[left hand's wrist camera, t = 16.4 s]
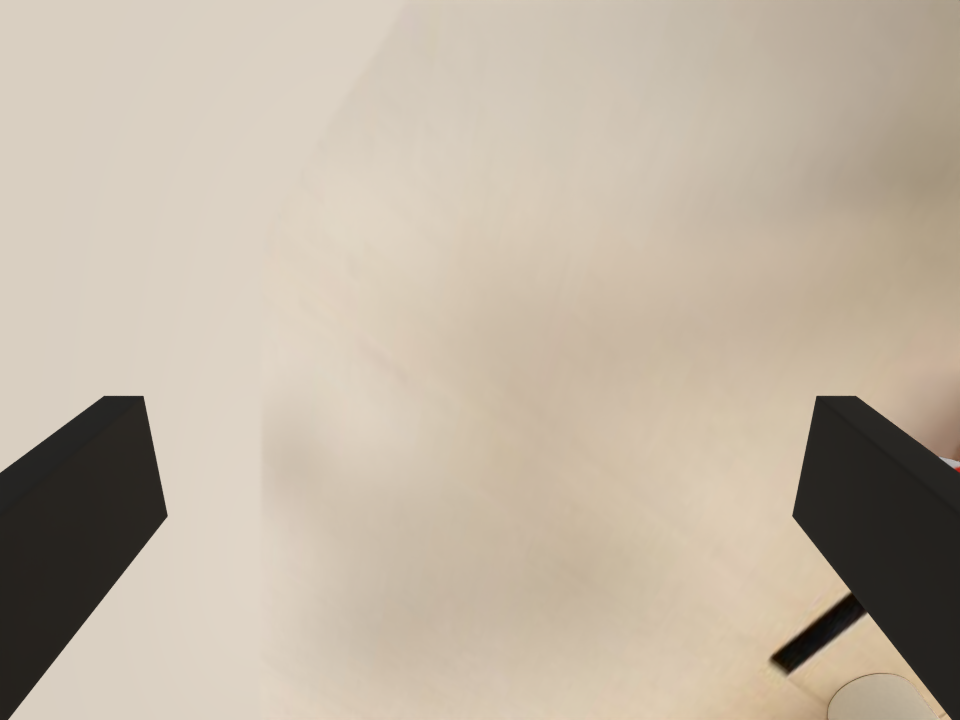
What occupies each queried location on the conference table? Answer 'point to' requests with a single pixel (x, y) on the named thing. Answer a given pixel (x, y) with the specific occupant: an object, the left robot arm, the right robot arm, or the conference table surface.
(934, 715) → the can
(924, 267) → the conference table surface
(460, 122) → the conference table surface
